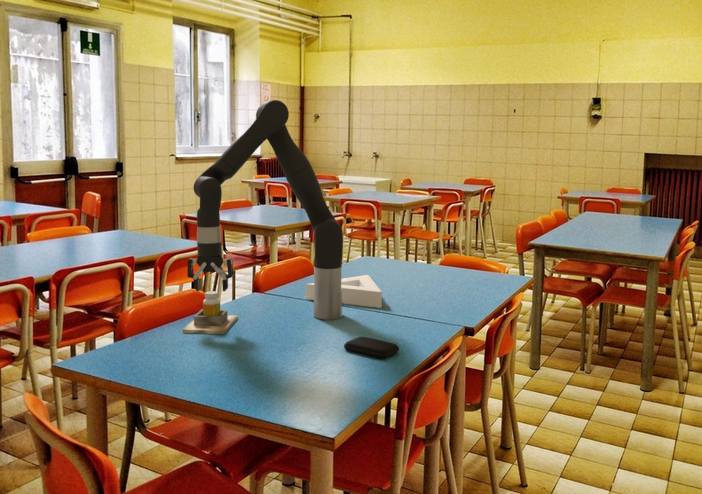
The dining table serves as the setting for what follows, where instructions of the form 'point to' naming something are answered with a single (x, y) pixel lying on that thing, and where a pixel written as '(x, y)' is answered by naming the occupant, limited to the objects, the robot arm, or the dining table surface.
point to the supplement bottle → (211, 304)
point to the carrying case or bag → (371, 347)
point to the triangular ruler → (355, 291)
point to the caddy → (210, 323)
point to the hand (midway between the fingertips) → (211, 290)
